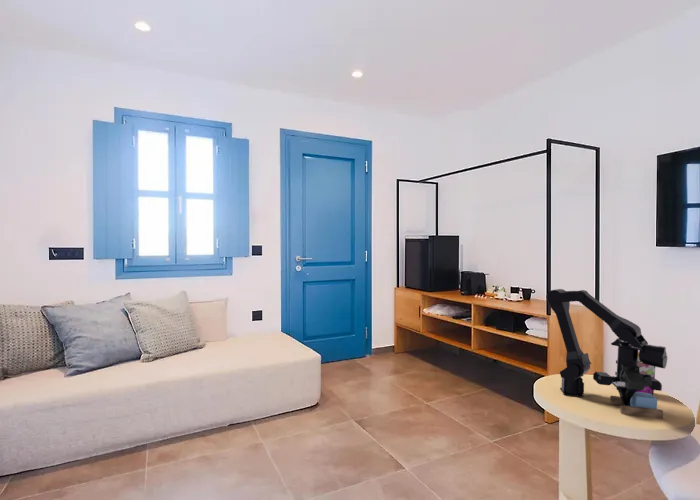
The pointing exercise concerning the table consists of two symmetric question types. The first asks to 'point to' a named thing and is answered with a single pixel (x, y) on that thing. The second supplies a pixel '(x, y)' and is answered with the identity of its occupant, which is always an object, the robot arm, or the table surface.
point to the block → (643, 400)
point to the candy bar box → (648, 371)
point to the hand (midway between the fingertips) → (625, 405)
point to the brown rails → (636, 409)
